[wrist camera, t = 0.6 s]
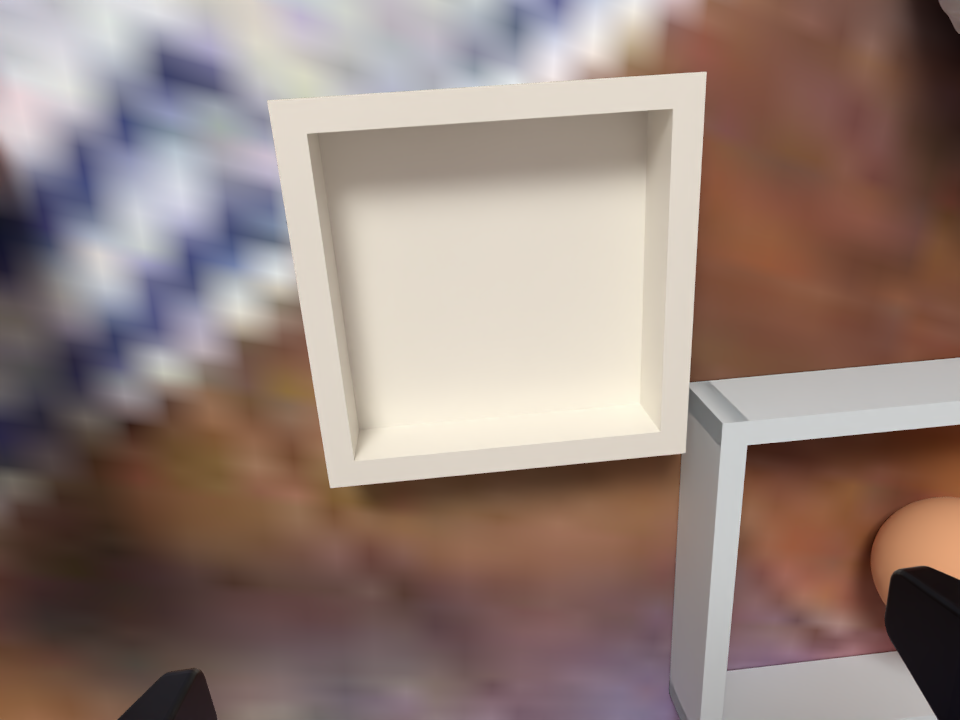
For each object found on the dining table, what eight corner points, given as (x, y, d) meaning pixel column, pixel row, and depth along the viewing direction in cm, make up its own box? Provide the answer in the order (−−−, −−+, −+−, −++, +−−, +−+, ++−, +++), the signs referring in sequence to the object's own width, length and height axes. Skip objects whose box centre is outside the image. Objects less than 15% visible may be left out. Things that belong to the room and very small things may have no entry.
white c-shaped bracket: (990, 654, 29) (1052, 715, 26) (669, 692, 28) (697, 759, 25) (1074, 347, 24) (1162, 381, 21) (685, 383, 23) (722, 423, 20)
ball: (957, 575, 27) (1070, 676, 22) (833, 589, 27) (921, 694, 22) (983, 463, 25) (1112, 548, 21) (851, 476, 25) (951, 565, 20)
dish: (657, 415, 23) (685, 453, 21) (339, 445, 23) (330, 488, 20) (670, 74, 19) (706, 71, 17) (286, 99, 19) (267, 100, 16)
